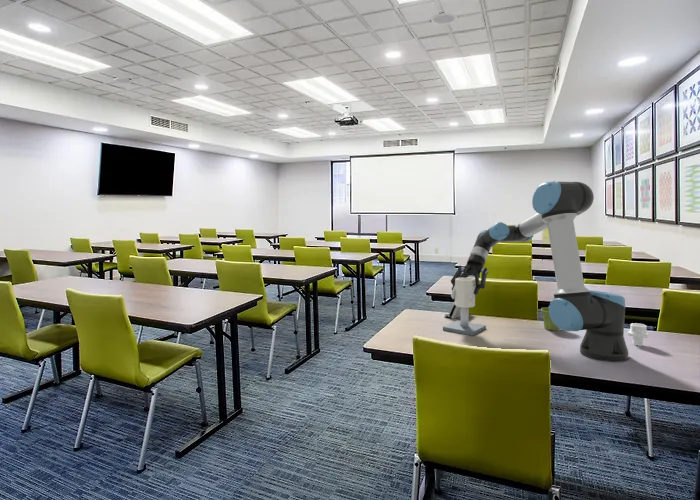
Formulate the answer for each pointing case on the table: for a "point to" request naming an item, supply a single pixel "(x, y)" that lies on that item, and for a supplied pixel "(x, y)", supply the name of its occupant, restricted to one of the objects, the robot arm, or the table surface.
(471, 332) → the post base
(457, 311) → the grey curved piece
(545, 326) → the plant pot
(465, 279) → the white faceted cup
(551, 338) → the table surface
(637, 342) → the white figurine planter
